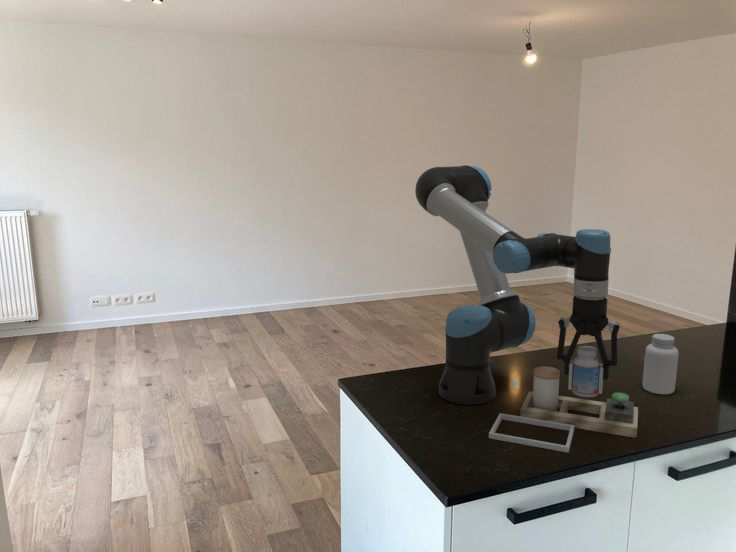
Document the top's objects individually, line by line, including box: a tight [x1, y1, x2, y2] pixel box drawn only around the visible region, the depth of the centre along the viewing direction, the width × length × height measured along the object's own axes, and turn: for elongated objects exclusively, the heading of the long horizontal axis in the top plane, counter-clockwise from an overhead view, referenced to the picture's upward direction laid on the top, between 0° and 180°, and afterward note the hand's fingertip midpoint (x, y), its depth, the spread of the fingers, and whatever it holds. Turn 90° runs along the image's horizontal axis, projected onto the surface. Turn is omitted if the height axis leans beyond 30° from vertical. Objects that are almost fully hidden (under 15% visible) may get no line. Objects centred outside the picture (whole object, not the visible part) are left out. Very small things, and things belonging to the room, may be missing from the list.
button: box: [611, 392, 630, 408], centre depth 139 cm, size 4×4×3 cm
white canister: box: [532, 365, 561, 412], centre depth 147 cm, size 6×6×11 cm
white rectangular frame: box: [488, 412, 575, 453], centre depth 136 cm, size 17×11×1 cm, turn 65°
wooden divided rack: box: [519, 391, 639, 439], centre depth 144 cm, size 26×12×4 cm, turn 65°
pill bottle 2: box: [642, 333, 679, 395], centre depth 158 cm, size 8×8×15 cm
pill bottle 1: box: [571, 345, 601, 398], centre depth 141 cm, size 6×6×11 cm
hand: (585, 389), depth 142 cm, fingers closed on pill bottle 1, 6 cm apart
